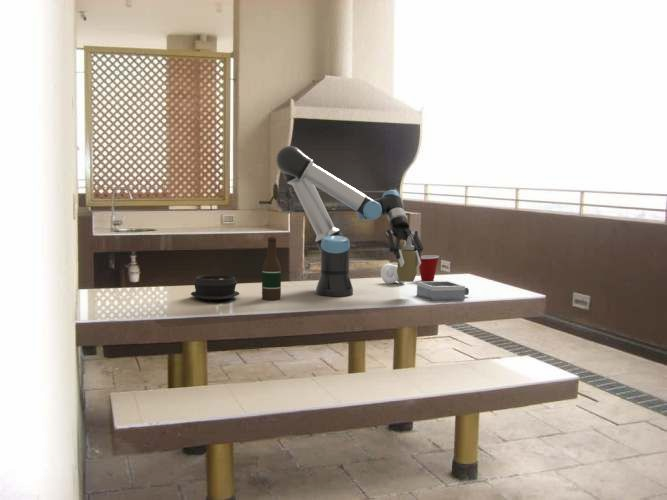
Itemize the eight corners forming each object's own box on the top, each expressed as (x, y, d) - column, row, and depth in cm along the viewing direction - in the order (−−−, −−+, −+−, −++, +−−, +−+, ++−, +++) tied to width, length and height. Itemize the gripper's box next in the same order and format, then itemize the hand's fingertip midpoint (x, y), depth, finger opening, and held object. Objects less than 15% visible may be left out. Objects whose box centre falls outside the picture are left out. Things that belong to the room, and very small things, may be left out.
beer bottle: (265, 301, 257) (266, 238, 254) (258, 297, 264) (258, 236, 261) (284, 299, 260) (285, 237, 258) (276, 296, 267) (277, 236, 265)
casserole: (243, 303, 251) (243, 281, 250) (192, 304, 246) (192, 281, 245) (235, 293, 275) (235, 272, 274) (189, 294, 270) (188, 273, 270)
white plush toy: (381, 284, 307) (382, 265, 306) (379, 281, 319) (380, 262, 318) (406, 285, 307) (407, 265, 306) (403, 281, 319) (404, 262, 318)
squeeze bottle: (415, 283, 267) (418, 237, 265) (395, 281, 269) (398, 236, 267) (416, 280, 275) (420, 236, 273) (397, 278, 276) (400, 235, 275)
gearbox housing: (432, 300, 265) (432, 287, 264) (416, 294, 279) (417, 281, 278) (475, 299, 270) (476, 285, 270) (458, 293, 284) (458, 280, 284)
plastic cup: (412, 279, 328) (413, 254, 327) (433, 278, 331) (433, 254, 330) (420, 282, 318) (421, 257, 316) (442, 281, 320) (442, 256, 319)
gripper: (416, 228, 287) (430, 271, 273) (373, 226, 282) (385, 270, 268) (422, 216, 282) (436, 259, 268) (379, 214, 276) (391, 258, 262)
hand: (410, 264), depth 268 cm, fingers closed on squeeze bottle, 6 cm apart
